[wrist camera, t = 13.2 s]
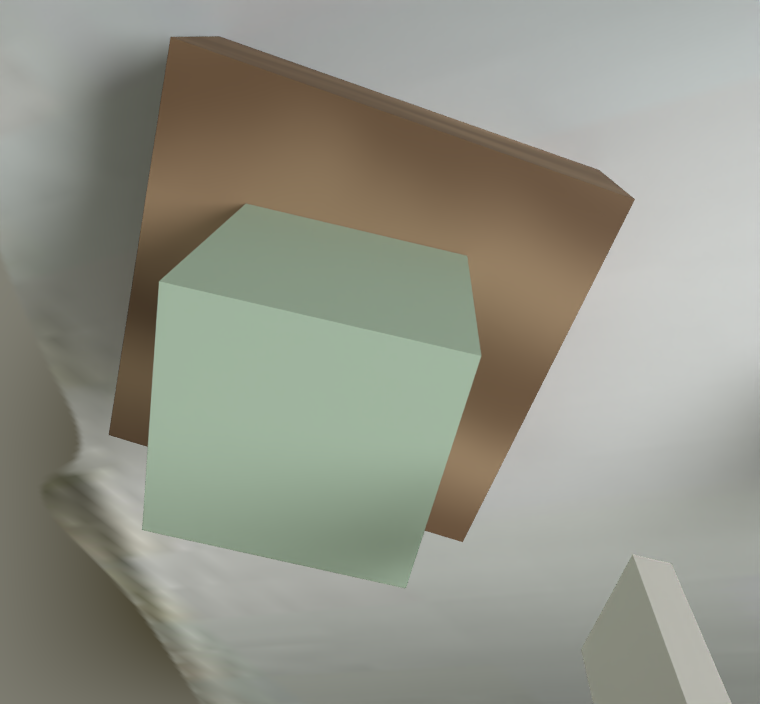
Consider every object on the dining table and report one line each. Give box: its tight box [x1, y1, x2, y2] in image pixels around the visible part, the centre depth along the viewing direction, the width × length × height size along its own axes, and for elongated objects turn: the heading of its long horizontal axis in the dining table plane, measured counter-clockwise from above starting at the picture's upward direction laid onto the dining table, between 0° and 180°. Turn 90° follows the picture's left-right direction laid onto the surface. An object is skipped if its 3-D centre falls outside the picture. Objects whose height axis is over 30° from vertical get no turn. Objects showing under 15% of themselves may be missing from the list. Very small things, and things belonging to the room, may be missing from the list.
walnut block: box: [109, 36, 635, 542], centre depth 24 cm, size 14×14×5 cm
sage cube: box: [142, 204, 481, 588], centre depth 18 cm, size 7×7×7 cm
